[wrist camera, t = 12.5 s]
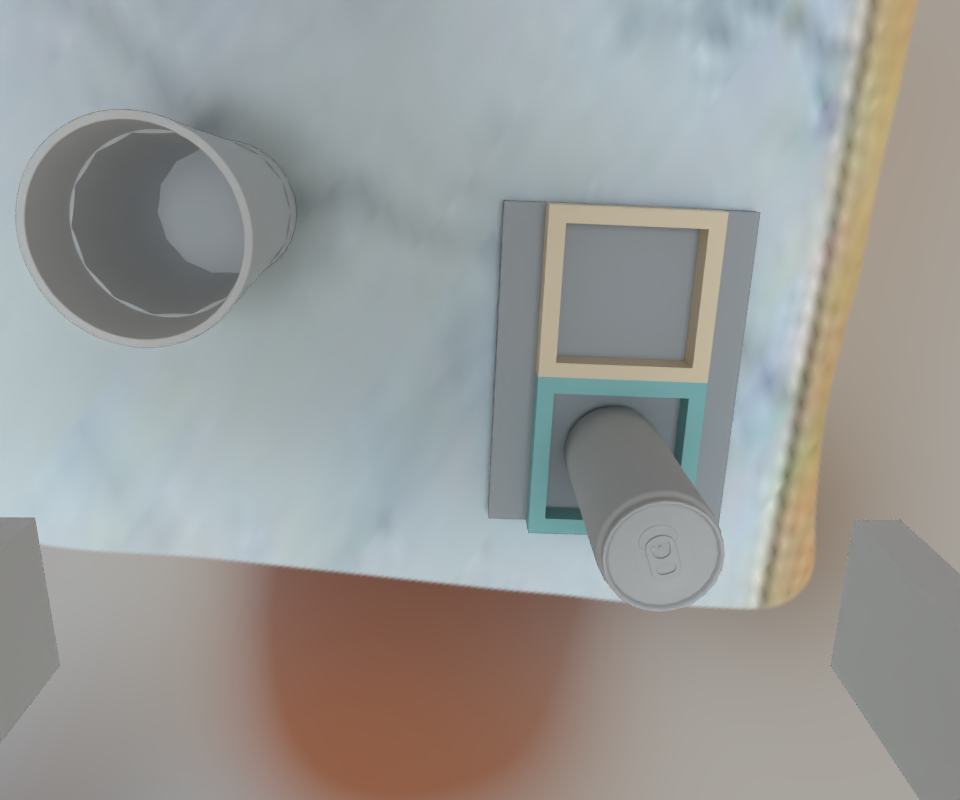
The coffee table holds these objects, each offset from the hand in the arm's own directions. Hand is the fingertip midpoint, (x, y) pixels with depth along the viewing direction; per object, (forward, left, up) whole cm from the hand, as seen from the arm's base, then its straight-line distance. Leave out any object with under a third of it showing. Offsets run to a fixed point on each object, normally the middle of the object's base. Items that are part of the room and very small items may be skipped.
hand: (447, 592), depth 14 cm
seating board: (+3, +8, -29) cm, 30 cm away
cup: (-4, -11, -29) cm, 31 cm away
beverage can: (+7, +8, -28) cm, 30 cm away
